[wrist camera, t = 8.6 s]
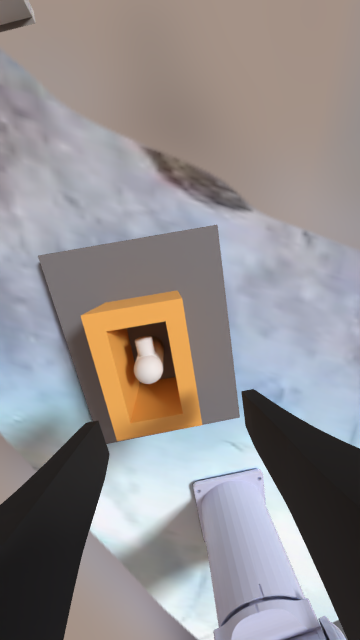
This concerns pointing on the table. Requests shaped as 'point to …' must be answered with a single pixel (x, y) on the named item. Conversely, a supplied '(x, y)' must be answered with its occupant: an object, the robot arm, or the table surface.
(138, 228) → the table surface
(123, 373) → the orange link
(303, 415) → the table surface
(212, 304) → the hook board
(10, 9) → the pliers
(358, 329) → the table surface
